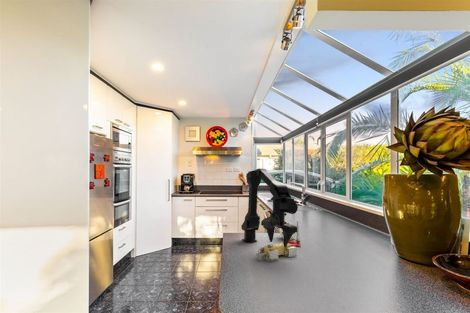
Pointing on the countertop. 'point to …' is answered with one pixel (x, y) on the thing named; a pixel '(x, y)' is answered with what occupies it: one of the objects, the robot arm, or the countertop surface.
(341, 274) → the countertop surface
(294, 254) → the chain ends
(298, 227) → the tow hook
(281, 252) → the link
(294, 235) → the lidded jar
